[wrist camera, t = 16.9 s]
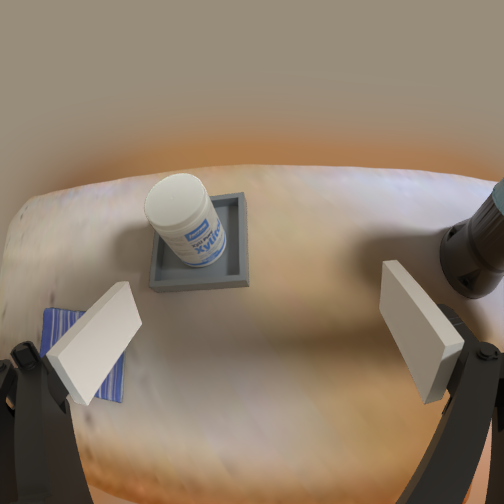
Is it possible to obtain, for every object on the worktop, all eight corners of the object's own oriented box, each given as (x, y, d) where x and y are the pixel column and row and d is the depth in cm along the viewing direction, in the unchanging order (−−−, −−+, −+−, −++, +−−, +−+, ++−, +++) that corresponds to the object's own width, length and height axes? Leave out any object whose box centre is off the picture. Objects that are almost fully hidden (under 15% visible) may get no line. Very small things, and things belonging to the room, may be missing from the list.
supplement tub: (218, 274, 49) (189, 233, 36) (170, 263, 51) (132, 223, 38) (234, 225, 53) (214, 173, 39) (188, 218, 55) (158, 170, 42)
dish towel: (50, 308, 53) (42, 304, 50) (130, 314, 50) (122, 310, 47) (43, 380, 46) (34, 378, 43) (124, 403, 42) (116, 404, 40)
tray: (246, 202, 55) (243, 192, 52) (249, 286, 48) (246, 280, 45) (165, 212, 57) (159, 204, 54) (157, 292, 50) (148, 286, 47)
